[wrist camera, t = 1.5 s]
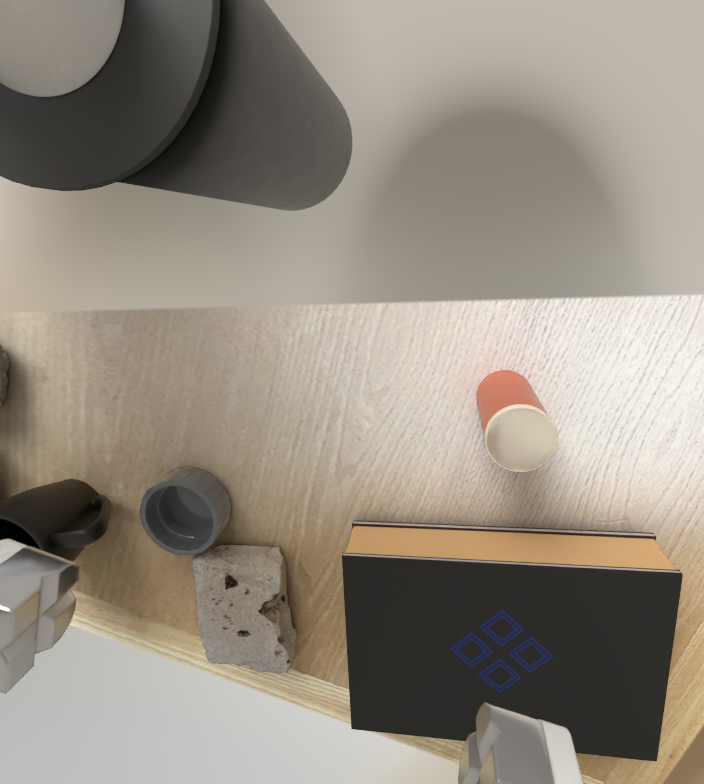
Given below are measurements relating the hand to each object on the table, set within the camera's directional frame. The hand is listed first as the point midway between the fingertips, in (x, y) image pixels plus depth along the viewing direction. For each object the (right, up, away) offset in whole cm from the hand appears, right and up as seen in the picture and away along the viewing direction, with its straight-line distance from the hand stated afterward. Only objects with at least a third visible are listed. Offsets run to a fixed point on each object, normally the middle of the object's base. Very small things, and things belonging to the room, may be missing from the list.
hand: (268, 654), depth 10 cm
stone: (-8, -15, +43) cm, 46 cm away
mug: (-24, -6, +43) cm, 50 cm away
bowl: (-13, -5, +41) cm, 44 cm away
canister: (+14, +5, +34) cm, 37 cm away
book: (+15, -15, +39) cm, 44 cm away
